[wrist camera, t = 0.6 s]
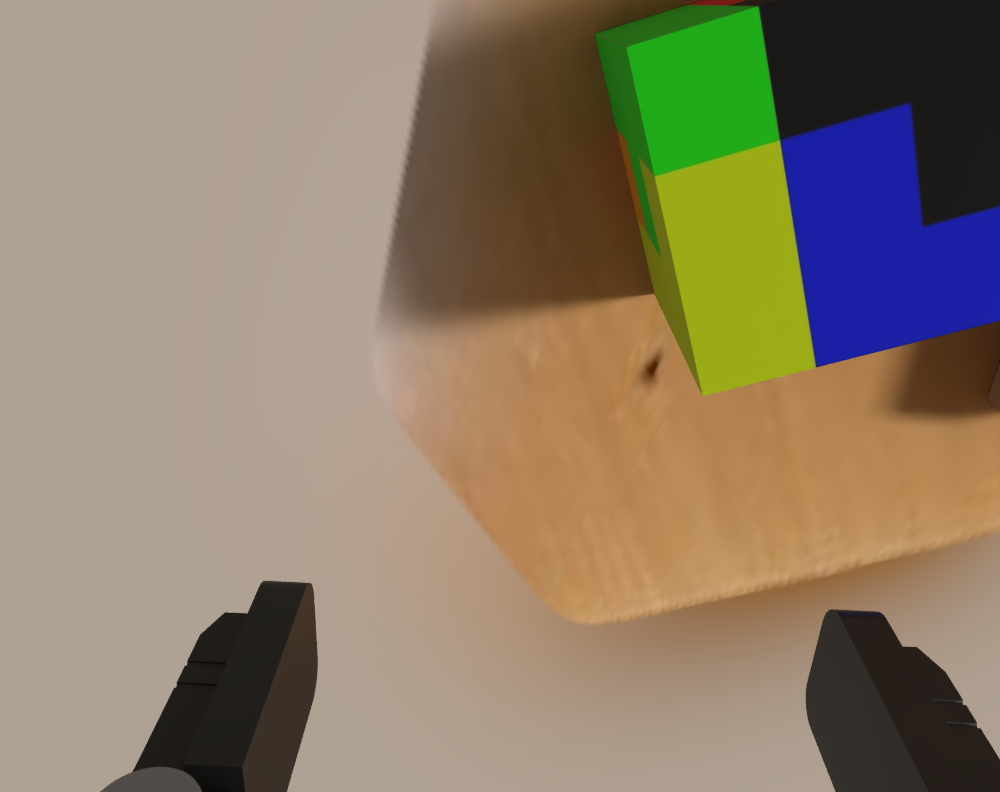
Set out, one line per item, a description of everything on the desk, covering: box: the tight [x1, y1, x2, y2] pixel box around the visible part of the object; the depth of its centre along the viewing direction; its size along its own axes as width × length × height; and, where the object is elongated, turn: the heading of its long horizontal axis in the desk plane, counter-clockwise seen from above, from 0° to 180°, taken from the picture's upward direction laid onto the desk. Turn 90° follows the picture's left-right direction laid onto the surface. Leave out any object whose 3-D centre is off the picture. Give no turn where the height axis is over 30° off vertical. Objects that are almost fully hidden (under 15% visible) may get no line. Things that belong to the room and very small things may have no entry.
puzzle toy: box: [594, 0, 1000, 396], centre depth 28 cm, size 10×10×10 cm
